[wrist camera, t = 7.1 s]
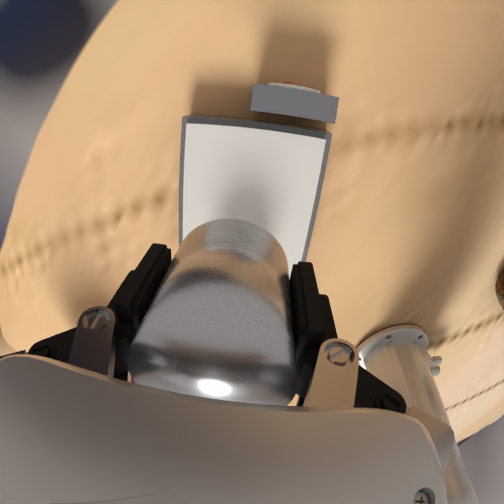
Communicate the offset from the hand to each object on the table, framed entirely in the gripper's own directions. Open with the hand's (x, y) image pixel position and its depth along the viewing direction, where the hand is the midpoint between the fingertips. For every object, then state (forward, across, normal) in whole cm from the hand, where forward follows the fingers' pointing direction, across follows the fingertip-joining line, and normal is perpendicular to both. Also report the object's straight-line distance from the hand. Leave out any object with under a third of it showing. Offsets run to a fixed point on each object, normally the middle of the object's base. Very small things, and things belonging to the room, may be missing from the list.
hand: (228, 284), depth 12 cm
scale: (+16, 0, +2) cm, 16 cm away
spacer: (+1, 0, 0) cm, 1 cm away
